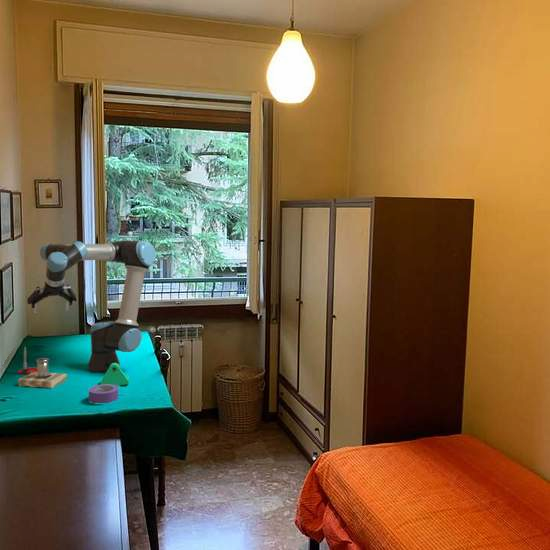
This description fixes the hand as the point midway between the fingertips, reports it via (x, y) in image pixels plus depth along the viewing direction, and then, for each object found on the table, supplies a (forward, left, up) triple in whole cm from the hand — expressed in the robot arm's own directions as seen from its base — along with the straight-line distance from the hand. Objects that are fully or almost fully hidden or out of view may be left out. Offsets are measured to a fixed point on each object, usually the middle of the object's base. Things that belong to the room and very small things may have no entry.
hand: (51, 309), depth 246 cm
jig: (+2, +6, -33) cm, 33 cm away
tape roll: (-35, +20, -33) cm, 52 cm away
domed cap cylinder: (+2, +6, -33) cm, 33 cm away
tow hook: (+18, -9, -33) cm, 39 cm away
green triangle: (-30, 0, -33) cm, 45 cm away
